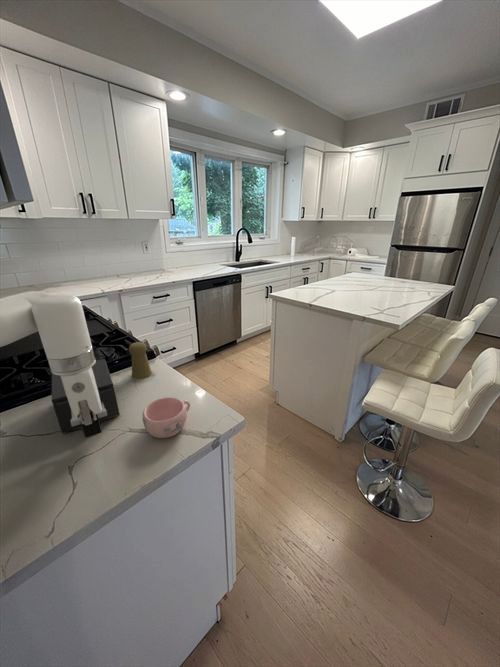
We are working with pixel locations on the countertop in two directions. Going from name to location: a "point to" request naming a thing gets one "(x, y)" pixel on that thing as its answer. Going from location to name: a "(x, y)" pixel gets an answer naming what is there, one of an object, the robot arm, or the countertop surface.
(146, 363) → the cork
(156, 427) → the mug
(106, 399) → the dark grey drawer
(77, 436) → the countertop surface
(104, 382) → the drawer cabinet
